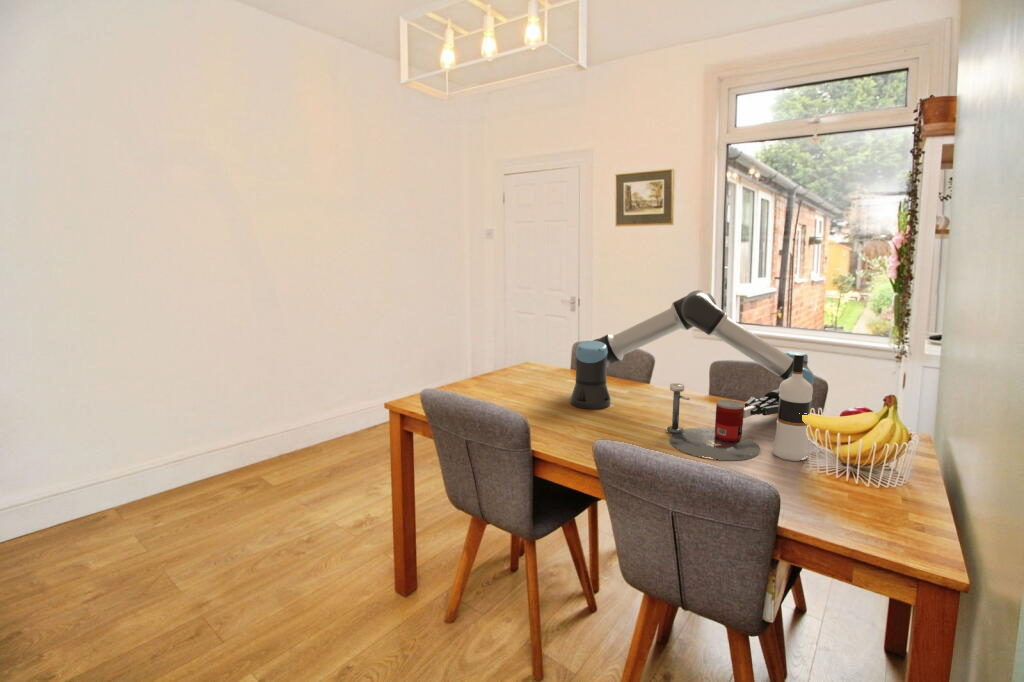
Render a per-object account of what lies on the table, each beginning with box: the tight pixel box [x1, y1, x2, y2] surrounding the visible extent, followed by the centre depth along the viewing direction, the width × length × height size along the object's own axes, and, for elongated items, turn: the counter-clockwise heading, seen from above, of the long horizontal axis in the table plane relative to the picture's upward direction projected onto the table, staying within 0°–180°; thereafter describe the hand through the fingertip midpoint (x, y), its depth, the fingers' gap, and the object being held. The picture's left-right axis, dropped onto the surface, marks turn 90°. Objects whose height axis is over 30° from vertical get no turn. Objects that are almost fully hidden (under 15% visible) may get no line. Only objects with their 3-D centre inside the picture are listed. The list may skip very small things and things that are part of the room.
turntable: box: [669, 427, 761, 462], centre depth 163 cm, size 26×26×1 cm
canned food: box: [714, 399, 745, 441], centre depth 166 cm, size 8×8×11 cm
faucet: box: [666, 382, 691, 434], centre depth 171 cm, size 7×5×16 cm
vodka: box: [771, 354, 814, 462], centre depth 150 cm, size 9×9×30 cm
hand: (742, 413), depth 171 cm, fingers closed
